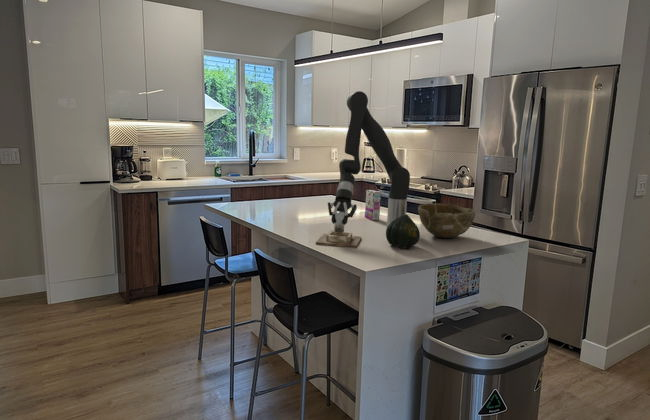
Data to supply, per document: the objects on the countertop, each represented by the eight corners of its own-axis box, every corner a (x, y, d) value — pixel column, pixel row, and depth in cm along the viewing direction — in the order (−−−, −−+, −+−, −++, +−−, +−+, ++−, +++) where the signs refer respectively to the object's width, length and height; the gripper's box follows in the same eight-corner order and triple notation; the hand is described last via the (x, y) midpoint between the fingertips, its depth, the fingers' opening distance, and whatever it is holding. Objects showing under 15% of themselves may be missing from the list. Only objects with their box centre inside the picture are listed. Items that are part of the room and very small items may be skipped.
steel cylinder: (344, 230, 205) (345, 211, 203) (343, 232, 201) (344, 212, 199) (335, 229, 206) (336, 210, 204) (333, 231, 201) (334, 212, 200)
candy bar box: (379, 220, 257) (381, 192, 254) (371, 220, 255) (373, 192, 252) (372, 216, 267) (373, 189, 264) (364, 217, 266) (365, 189, 263)
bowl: (460, 247, 202) (463, 214, 199) (406, 237, 218) (408, 206, 215) (480, 237, 224) (483, 208, 221) (430, 228, 240) (432, 201, 237)
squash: (388, 239, 189) (411, 212, 190) (375, 232, 203) (396, 207, 204) (410, 259, 193) (432, 233, 194) (395, 252, 207) (416, 227, 209)
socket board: (361, 238, 211) (361, 231, 210) (356, 248, 193) (356, 240, 193) (323, 235, 214) (324, 228, 214) (315, 244, 197) (315, 236, 196)
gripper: (329, 187, 208) (322, 217, 199) (359, 189, 206) (354, 219, 196) (330, 196, 215) (324, 226, 205) (360, 199, 212) (355, 229, 202)
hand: (338, 223), depth 201 cm, fingers closed on steel cylinder, 4 cm apart
